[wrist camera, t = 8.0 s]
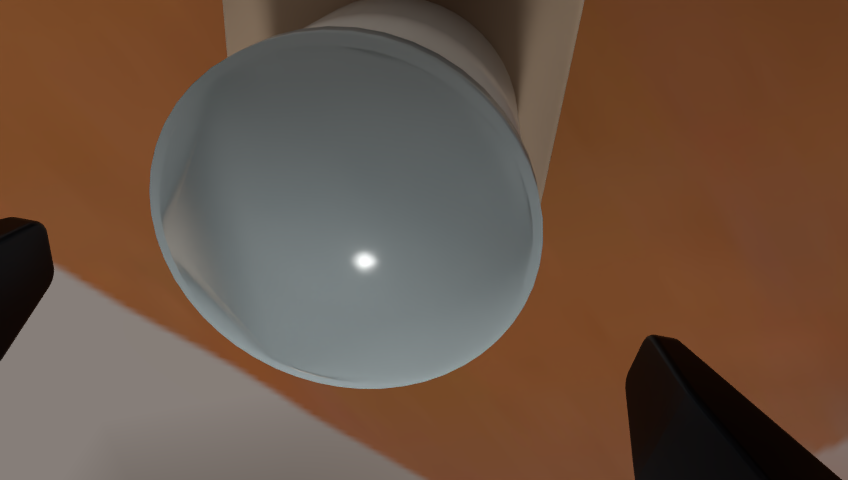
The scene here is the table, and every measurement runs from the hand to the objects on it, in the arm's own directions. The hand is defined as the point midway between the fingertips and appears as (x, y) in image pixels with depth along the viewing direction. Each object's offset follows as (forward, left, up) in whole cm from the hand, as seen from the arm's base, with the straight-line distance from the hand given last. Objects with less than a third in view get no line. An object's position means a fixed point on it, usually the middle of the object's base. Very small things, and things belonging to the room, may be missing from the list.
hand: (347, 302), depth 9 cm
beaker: (0, 0, -7) cm, 7 cm away
